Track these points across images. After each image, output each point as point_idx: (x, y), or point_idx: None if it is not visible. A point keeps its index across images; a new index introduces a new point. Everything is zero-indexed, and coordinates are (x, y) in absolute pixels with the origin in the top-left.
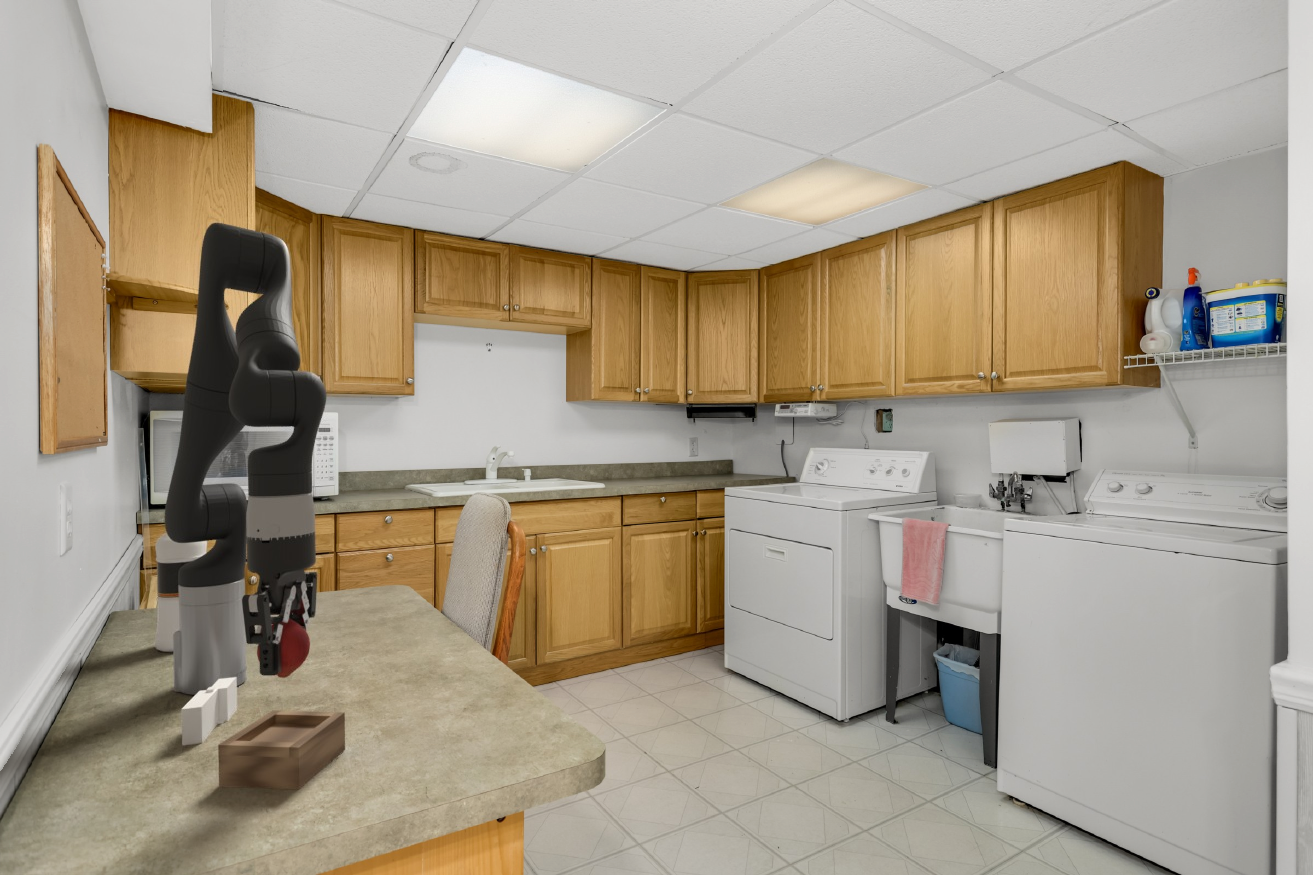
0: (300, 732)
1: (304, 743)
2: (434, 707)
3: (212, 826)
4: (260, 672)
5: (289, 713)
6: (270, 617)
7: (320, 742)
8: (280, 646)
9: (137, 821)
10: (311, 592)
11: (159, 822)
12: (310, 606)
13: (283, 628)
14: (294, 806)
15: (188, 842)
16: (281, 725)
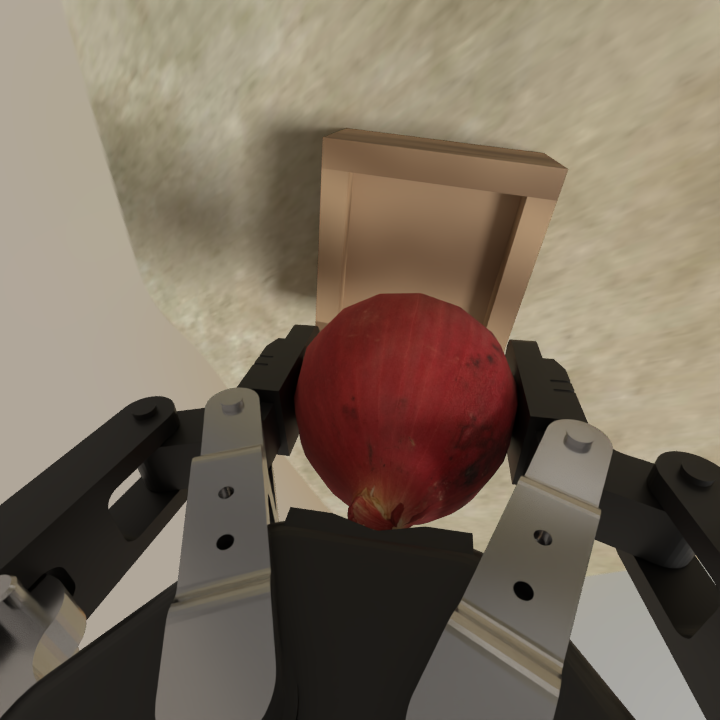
0: (445, 285)
1: None
2: (669, 442)
3: (213, 211)
4: (293, 327)
5: (524, 238)
6: (119, 577)
7: None
8: (292, 443)
9: (200, 25)
10: (712, 713)
11: (206, 88)
12: (644, 592)
13: (334, 490)
14: (282, 315)
15: (168, 197)
16: (502, 216)
